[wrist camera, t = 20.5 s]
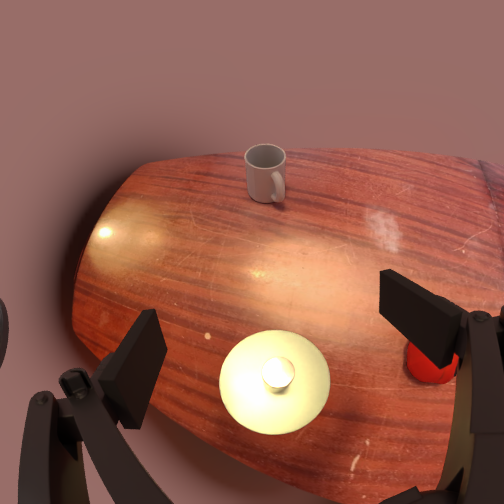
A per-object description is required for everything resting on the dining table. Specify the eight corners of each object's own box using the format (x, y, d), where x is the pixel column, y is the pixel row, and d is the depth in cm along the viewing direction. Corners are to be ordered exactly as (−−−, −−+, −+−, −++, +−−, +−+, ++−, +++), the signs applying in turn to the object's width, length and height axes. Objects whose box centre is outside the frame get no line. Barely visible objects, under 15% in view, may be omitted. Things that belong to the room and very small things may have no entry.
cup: (273, 174, 57) (273, 139, 50) (298, 205, 52) (302, 171, 45) (241, 185, 56) (237, 151, 48) (264, 219, 51) (263, 184, 43)
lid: (200, 398, 28) (172, 393, 20) (256, 314, 34) (252, 277, 25) (293, 451, 25) (305, 470, 16) (346, 361, 30) (376, 340, 21)
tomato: (456, 336, 36) (478, 323, 31) (436, 395, 32) (460, 389, 26) (414, 312, 40) (433, 297, 34) (391, 372, 35) (410, 364, 30)
